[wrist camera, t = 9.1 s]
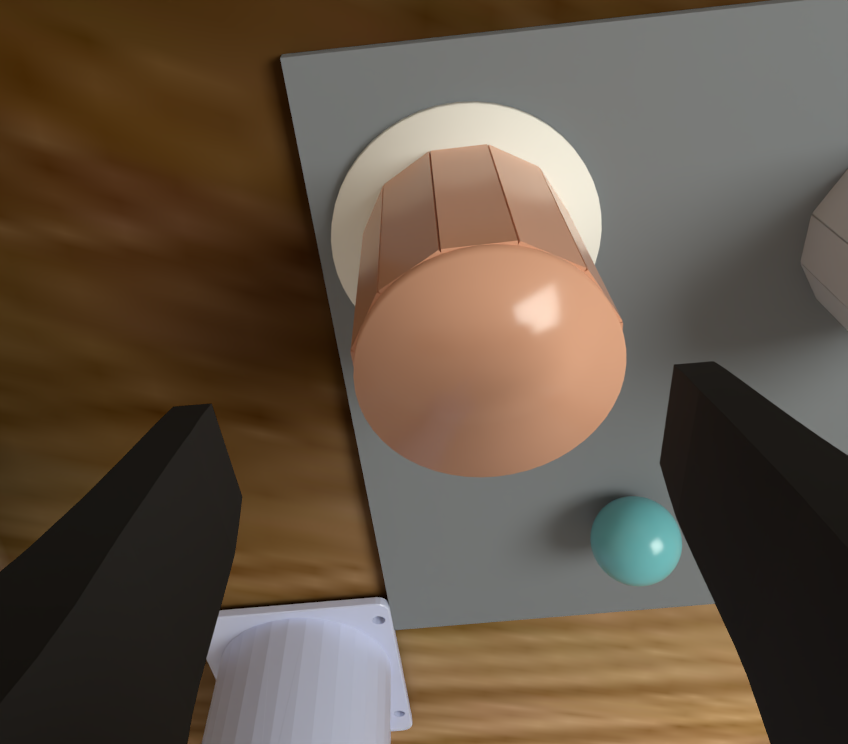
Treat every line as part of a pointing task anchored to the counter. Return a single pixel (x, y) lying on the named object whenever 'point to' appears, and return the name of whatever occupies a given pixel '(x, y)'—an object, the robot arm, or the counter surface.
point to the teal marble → (636, 541)
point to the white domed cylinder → (829, 251)
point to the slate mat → (597, 261)
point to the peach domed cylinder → (481, 318)
